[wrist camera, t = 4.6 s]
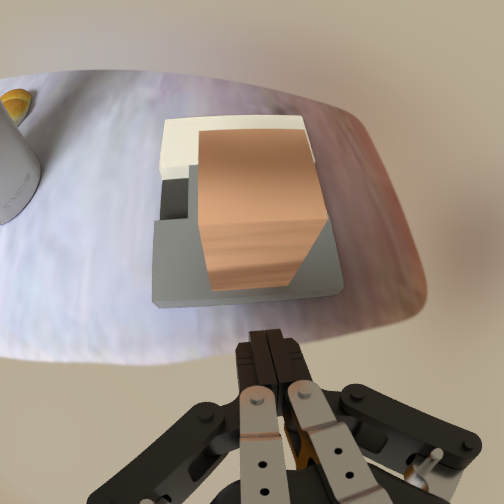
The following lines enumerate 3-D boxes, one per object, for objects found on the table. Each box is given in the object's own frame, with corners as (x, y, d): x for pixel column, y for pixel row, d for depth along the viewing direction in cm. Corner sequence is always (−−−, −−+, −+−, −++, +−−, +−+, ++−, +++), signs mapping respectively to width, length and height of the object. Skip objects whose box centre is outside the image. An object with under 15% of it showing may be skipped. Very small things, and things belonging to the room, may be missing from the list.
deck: (335, 295, 22) (344, 287, 20) (158, 308, 20) (152, 301, 19) (310, 175, 26) (315, 161, 24) (163, 181, 25) (159, 167, 23)
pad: (310, 175, 26) (315, 161, 24) (163, 181, 25) (159, 167, 23) (297, 130, 28) (301, 116, 26) (168, 134, 27) (165, 119, 25)
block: (287, 286, 20) (328, 218, 11) (211, 291, 19) (198, 225, 11) (278, 219, 22) (304, 129, 13) (208, 223, 21) (198, 130, 13)
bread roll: (35, 92, 31) (27, 73, 27) (27, 124, 28) (16, 104, 24) (-5, 115, 29) (-14, 98, 26) (-16, 150, 26) (-29, 133, 22)
